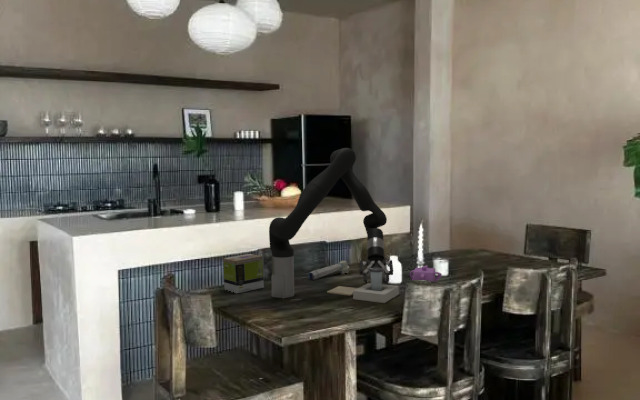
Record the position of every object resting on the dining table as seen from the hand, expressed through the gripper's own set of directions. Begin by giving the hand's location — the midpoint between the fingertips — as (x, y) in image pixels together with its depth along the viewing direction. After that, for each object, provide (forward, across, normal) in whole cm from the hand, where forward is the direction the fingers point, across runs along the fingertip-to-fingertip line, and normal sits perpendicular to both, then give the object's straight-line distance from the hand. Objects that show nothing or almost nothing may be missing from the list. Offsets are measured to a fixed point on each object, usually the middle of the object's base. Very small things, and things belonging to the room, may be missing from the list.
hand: (376, 282), depth 252 cm
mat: (-2, -14, +11) cm, 18 cm away
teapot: (-6, +22, +15) cm, 28 cm away
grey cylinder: (-24, -22, +34) cm, 47 cm away
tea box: (-5, -58, +14) cm, 60 cm away
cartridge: (+4, 0, +5) cm, 6 cm away
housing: (+4, 0, +5) cm, 6 cm away
